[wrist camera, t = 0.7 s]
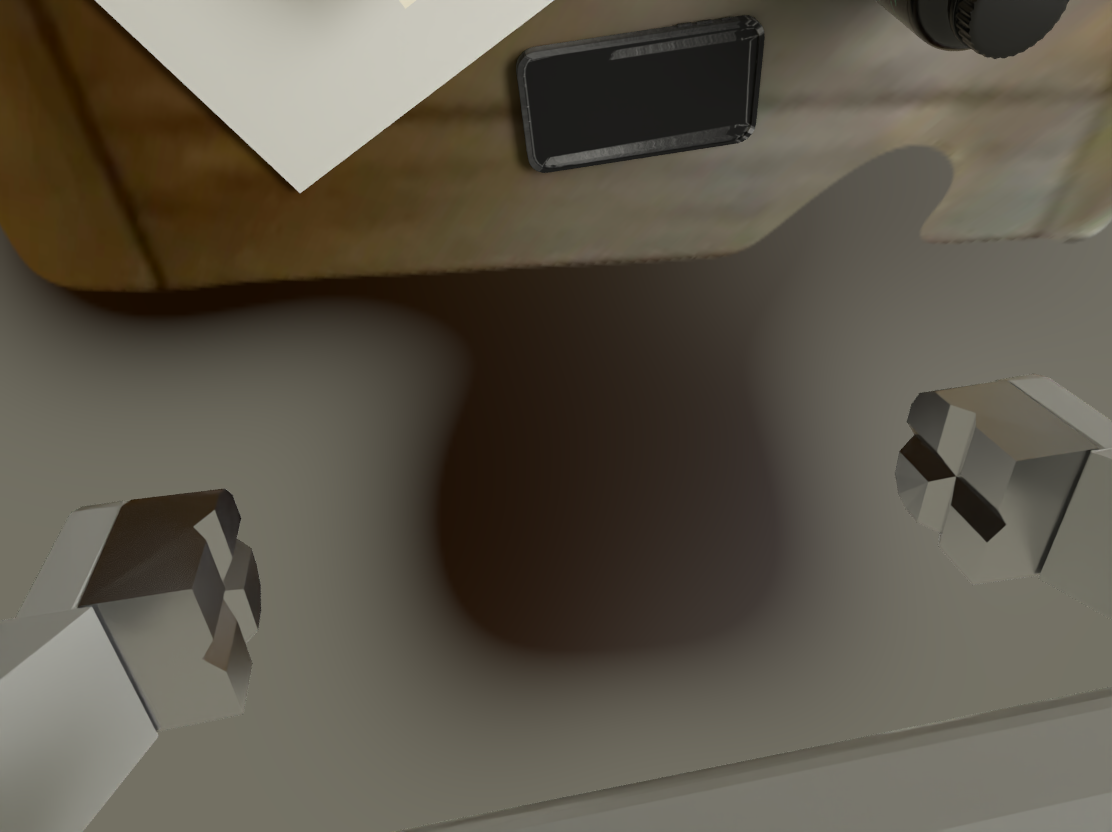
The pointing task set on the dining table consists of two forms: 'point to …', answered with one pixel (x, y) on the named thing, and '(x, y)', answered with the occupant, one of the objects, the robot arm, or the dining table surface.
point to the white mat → (316, 64)
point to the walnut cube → (407, 3)
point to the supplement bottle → (978, 23)
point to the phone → (640, 93)
